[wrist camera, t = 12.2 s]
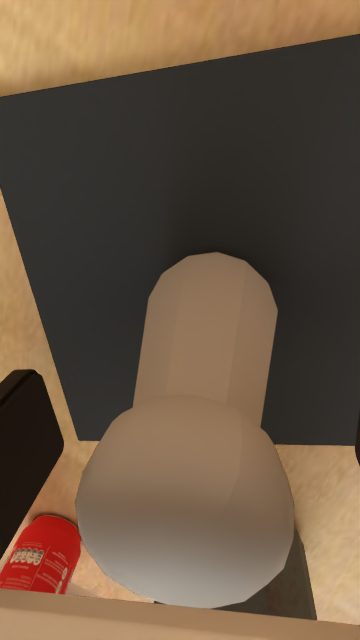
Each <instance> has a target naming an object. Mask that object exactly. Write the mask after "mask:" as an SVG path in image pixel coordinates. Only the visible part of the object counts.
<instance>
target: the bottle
mask: <svg viewBox="0 0 360 640" xmlns="http://www.w3.org/2000/svg"><path fill="white" fill-rule="evenodd" d="M154 603H155V604H164V603H161V602H157V601H154ZM165 605H167V604H165ZM204 609H207V608H204ZM211 609H213V610H223V611H232V612H242V613H251V614H261V615H270V616H279V617H289V618H298V619H308V620H317V616H316V610H315V605H314V599H313V594H312V588H311V583H310V578H309V572H308V567H307V561H306V556H305V550H304V545H303V543H302V541H301V539H300V537H299V534H298V532H297V530H296V529H295V528H294V538H293V541H292V544H291V548H290V551H289V554H288V557H287V560H286V563H285V566H284V569H283V570H282V571H281V572H280V573H279V574H278V575H276V576H275V577H274V578H273V579H272V580H271V581H270V582H269V583H268V584H267V585H266V586H264V587H263V588H262V589H260V590H259V591H258V592H256V593H255V594H254V595H252V596H251V597H250V598H248V599H247V600H246V601H244V602H240V603H235V604H230V605H225V606H221V607H216V608H211Z"/></svg>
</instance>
